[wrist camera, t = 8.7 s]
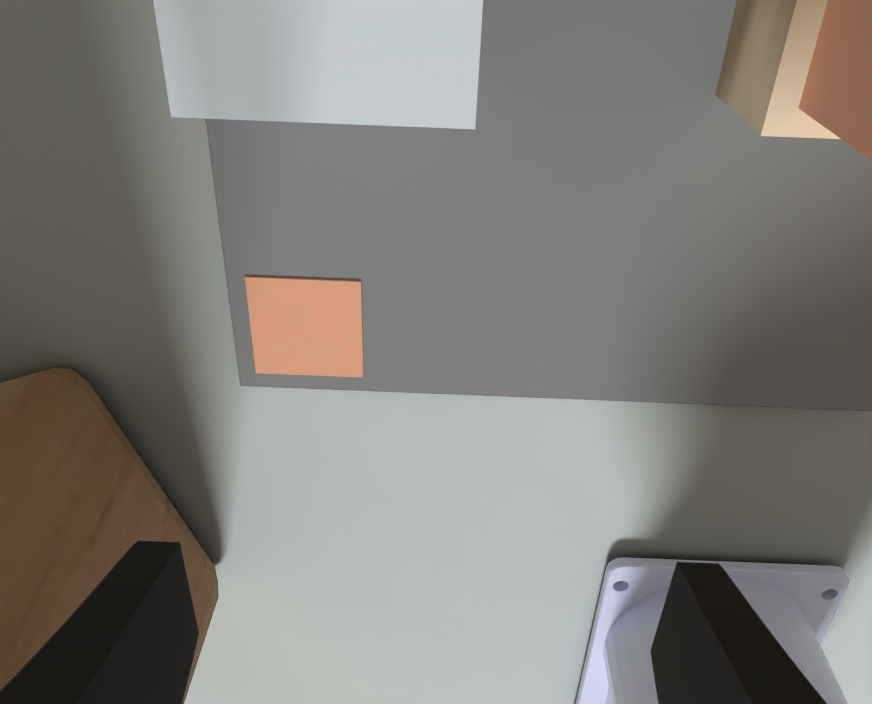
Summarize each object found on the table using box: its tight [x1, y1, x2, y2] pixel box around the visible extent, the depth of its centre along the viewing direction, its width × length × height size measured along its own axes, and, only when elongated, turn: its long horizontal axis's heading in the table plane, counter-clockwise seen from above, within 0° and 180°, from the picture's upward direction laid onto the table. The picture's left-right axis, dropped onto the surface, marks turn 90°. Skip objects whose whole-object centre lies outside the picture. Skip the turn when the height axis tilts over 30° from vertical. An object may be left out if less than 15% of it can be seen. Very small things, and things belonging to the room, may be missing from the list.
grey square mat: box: [206, 0, 872, 411], centre depth 17 cm, size 16×18×1 cm
